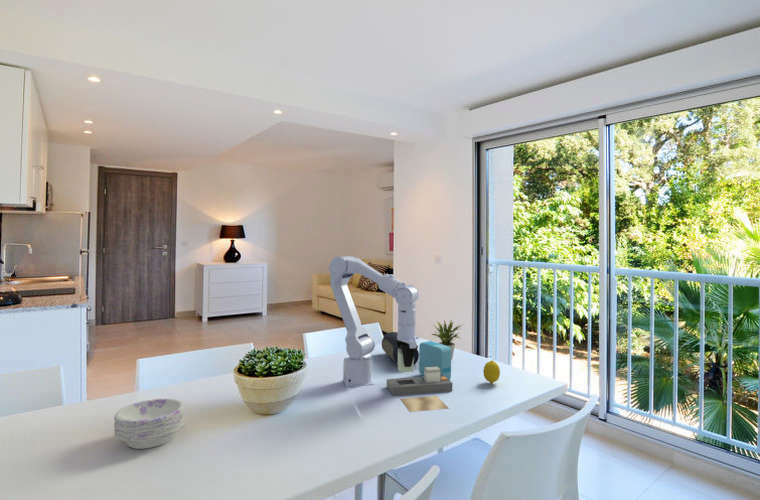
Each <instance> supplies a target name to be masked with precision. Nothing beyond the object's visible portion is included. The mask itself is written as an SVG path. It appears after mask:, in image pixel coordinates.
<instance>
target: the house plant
mask: <svg viewBox="0 0 760 500" xmlns="http://www.w3.org/2000/svg"><path fill="white" fill-rule="evenodd" d="M443 322H444V324H441V322H439V321H437V325H438V327H437V326H436V325H434V324H433V327H434V328H435V329H436V330H437V332H438V333H439V334H436V333H433V334H431V336H436V337H438V338H439V339H440V340H441V341H440V342H438V343H439V344H442V345H446V346H449V347H450V349H451V361H452V360H453V357H454V353H455V347H456V343H455V342H453V341H454V340H455V338H456V339H460V340H461V338H460V337H461V336H459V334H460V332H457V333H455V332H456V331H457V330H459V329H460V328H462V327H463V326H464V325H465V324H459V325H457V326H455V327H454V328H453V325H454V321H452V319H451V320H450V322H449V324H448V326H447V323H446V320H445V319H443ZM452 328H453V329H452Z"/></svg>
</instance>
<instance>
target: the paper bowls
mask: <svg viewBox="0 0 760 500" xmlns="http://www.w3.org/2000/svg"><path fill="white" fill-rule="evenodd" d="M185 405H186V404H185V403H184V402H183V401H181V400H178V399H176V398H175V399H174V398H156V399H148V400H142V401H139V402H135V403H132V404H129V405H127V406H124V407H122V408H120V409H119V410H117V411H116V413H115V414H114V424H113V425H114V426H113V427H114V428H113V431H114V432H113V433H114V438H116V439H118V440H119V441H122V442H124V443H125V444H126V445H127V446H128V447H129V448H132V449H137V450H142V449H143V450H144V449H145V448H146V449H152V448H157V447H159V446H162V445H164V444H166V443H168V442H169V441H171V440H172V439H173V438H174V437H175V435H176V432H178V431H180V430H181V429H182V428H183V427H184V426H185V422H186V421H185V419H186V418H185V417H186V414H185V413H186V412H185V408H186V406H185ZM146 449H145V450H146Z"/></svg>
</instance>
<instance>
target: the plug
mask: <svg viewBox="0 0 760 500" xmlns="http://www.w3.org/2000/svg"><path fill="white" fill-rule="evenodd" d="M414 366H415V365H414V357H413V362H412V365H411V367H405V366H404V360H403V354H402V350H401V348H398V364H397V370H398V372H399V373H406V372H407V373H408V372H414V370H415V369H414Z"/></svg>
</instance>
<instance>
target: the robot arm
mask: <svg viewBox="0 0 760 500" xmlns="http://www.w3.org/2000/svg"><path fill="white" fill-rule="evenodd" d="M328 270H329V274H330V277H329V278H330V281H329V282H330V283H329V285H330V288H331V291H332V294H333V296H334V299H335V301H336V305H337V307H338V311H339V313H340V315H341V318H342V321H343V323H344V327H345V329H346V332H347V333H346V336H345V339H344V340H345V345H346V353H347V355H348V356H349V357H345V358H343V372H342V373H343V376H342V381H343V383H344V385H345V387H346V388H349V387H351V388H352V387H364V386H374V385H375V383H374V381H373V380H372V352H373V351H374V349H375V346H376V345H375V344H376V343H375V340H374V338H373V337H372V336H371V335H370V333H369V330H367V329H366V328H365V327H363V325H362V321H361V319H360V316H359V314H358V311H357V308H356V305H355V303H354V300H353V297H352V295H351V292H350V289H349V286H348V284H349V281H350V279H351V278H352V277H353V276H354V274H359V275H360V276H363V277H365V278H367V279H369V280H371V281H372V282H374V283H376V284H377V286H378V289H379V290H381V291H382V292H383V293H385V294H387V295H389V296H390V297H392V298H393V299H394V300H395V301H396V303H397V333H398V336H397V339H398V340H400V341H396V345H397V347H398V348H401V350H402V354H403V360H404V366H405V367H411V365H412V362H413V357H414V354H415V352H416V350H419V346H418V345H417V340H419V339H420V337H419V336H418V335H416V322H417V321H416V318H417V317H416V311H417V310H416V307H417V305H416V303H417V302H416V301H417V300H418V299H419V291H418V290H417V289H418V288H417V287H415V286H414V285H412V284H408V285H407V283H406V282H405V281H400V280H399V279H398V278H396V277H395V274H388V273H386V274H382V273H381V272H379V271H378V270H376V269H374V268H373V267H372V266H370V265H369V264H367V263H365V262H364V261H363V260H362V259H361V258H358V257H356V256H354V255H346V256H345V255H344V256H335V257H333V258H332V259H331V261H330V264H329V266H328Z"/></svg>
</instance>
